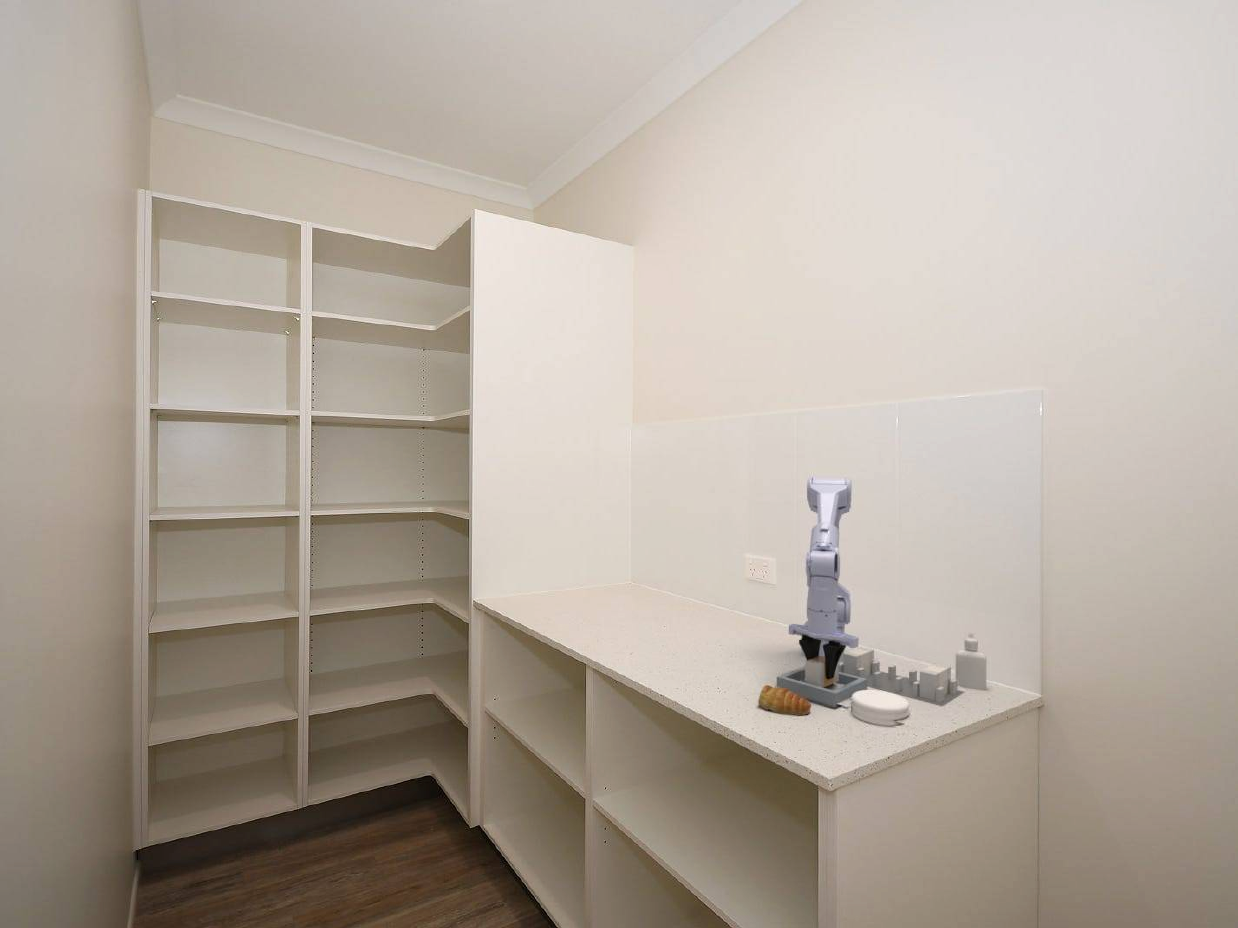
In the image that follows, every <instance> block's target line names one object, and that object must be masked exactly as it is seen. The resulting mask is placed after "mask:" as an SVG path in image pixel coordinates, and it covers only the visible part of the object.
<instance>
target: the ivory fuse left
mask: <svg viewBox="0 0 1238 928" xmlns="http://www.w3.org/2000/svg"><path fill="white" fill-rule="evenodd" d="M874 659H875V650H874V649H871V648H867V647H862V646H860V647H856V648H853V649H852V650H849V651H847V652H844V654H843V661H842V663H843V673H846V674H850V675H854V676H857V669H859V668H861V667H862V668H865V676H867V675H869V674H872V663H873V662H875V661H874Z"/></svg>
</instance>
